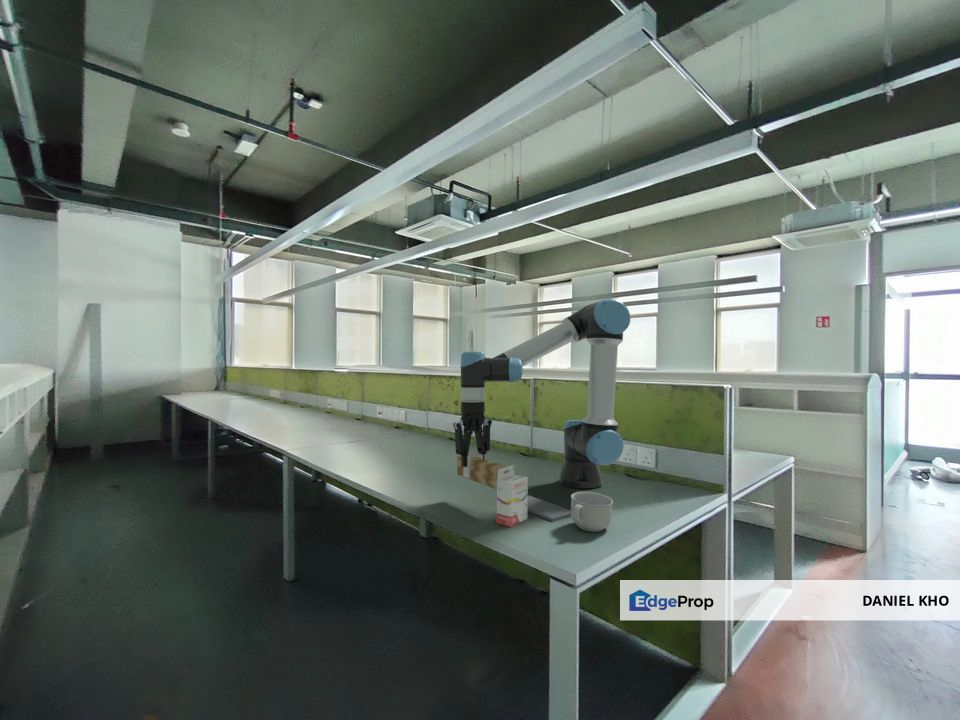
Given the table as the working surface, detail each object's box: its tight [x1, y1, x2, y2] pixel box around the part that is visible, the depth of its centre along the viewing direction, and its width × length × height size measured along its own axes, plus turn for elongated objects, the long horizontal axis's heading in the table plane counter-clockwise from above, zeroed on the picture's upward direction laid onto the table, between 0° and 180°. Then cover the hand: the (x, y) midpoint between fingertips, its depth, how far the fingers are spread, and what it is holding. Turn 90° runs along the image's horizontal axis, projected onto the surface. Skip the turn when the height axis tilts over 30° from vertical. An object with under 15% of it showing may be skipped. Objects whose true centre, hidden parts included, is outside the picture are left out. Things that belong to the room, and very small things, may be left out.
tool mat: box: [527, 494, 571, 522], centre depth 127 cm, size 9×22×1 cm, turn 36°
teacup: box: [570, 491, 614, 533], centre depth 110 cm, size 14×11×8 cm
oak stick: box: [456, 454, 508, 490], centre depth 128 cm, size 20×4×6 cm, turn 36°
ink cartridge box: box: [496, 464, 529, 528], centre depth 116 cm, size 9×5×15 cm, turn 141°
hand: (473, 475), depth 131 cm, fingers closed on oak stick, 4 cm apart
